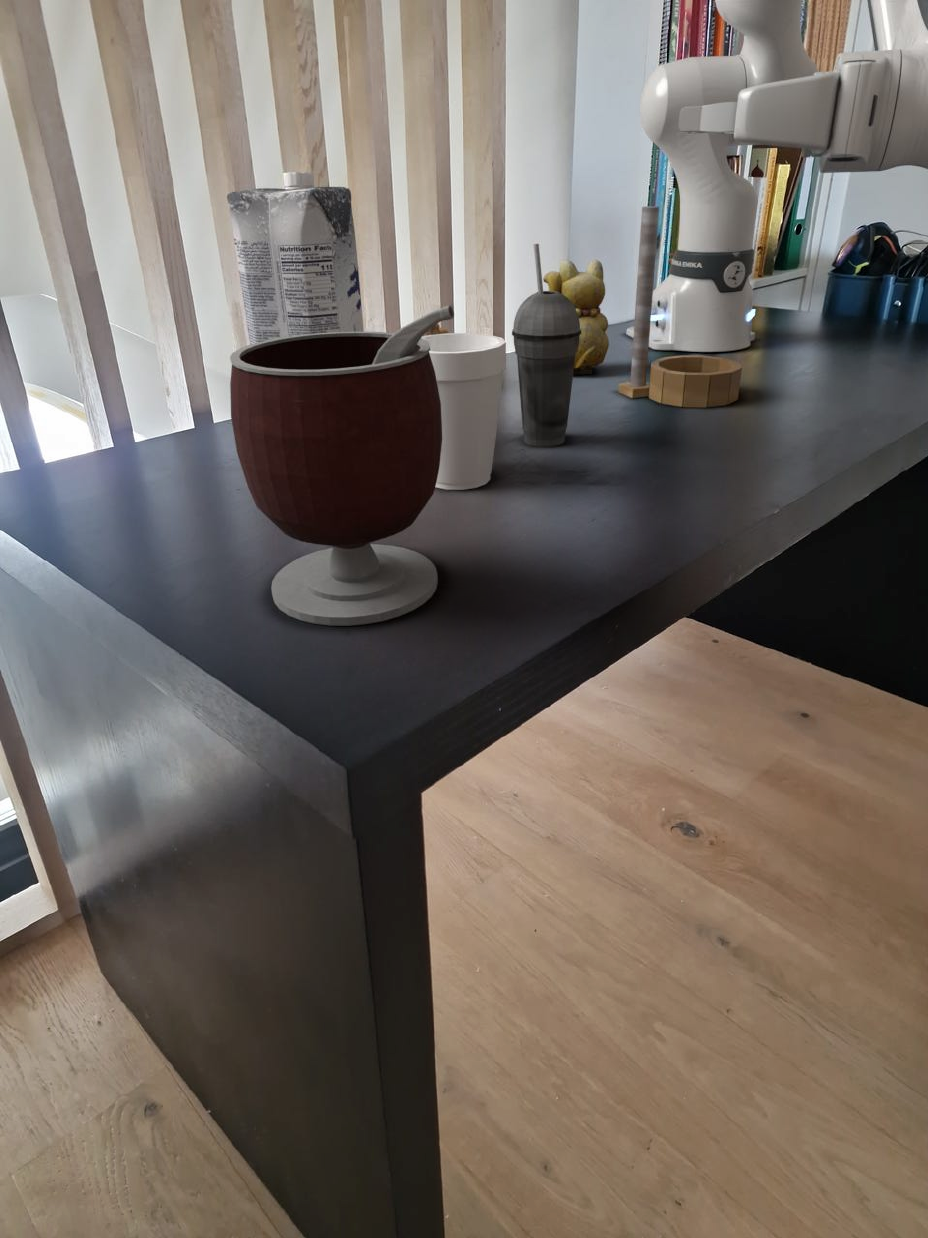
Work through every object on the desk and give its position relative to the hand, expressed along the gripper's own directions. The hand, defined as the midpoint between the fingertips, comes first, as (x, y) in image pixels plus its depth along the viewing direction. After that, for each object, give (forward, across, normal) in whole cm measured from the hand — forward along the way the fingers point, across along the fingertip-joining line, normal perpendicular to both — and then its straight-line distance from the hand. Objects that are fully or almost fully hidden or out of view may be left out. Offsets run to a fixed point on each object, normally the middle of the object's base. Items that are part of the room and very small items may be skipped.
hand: (683, 121), depth 74 cm
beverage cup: (+12, 0, +30) cm, 32 cm away
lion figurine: (+33, -24, +30) cm, 51 cm away
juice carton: (+35, +10, +30) cm, 47 cm away
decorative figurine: (+14, -33, +30) cm, 47 cm away
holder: (-3, -22, +30) cm, 37 cm away
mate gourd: (+18, +38, +30) cm, 52 cm away
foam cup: (+18, +14, +30) cm, 38 cm away
